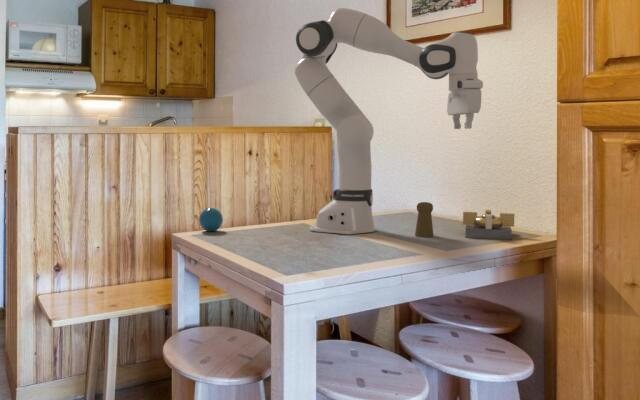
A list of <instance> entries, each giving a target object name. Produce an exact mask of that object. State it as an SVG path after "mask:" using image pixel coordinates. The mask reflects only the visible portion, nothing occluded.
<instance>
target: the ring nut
mask: <svg viewBox="0 0 640 400" xmlns="http://www.w3.org/2000/svg"><path fill="white" fill-rule="evenodd" d="M462 213H463V214H462V225H465V226H466V225H476V226H481V227H485V228H486V229H492V227H501V226H510V227H511V228H512V227H513V228H514V227H515V213H512V212H511V213H508V212H506V213H505V212H500V213H499V216H496V215H494V214H492V210H491V209H485V211H484V213H485V214H482V215H478V212H477V211H462Z"/></svg>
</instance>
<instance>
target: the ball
mask: <svg viewBox="0 0 640 400" xmlns="http://www.w3.org/2000/svg"><path fill="white" fill-rule="evenodd" d="M223 222H224V217H223V214H222V213H221V212H220V210H219V209H217V208H214V207H208V208H205V209H203V210H201V212H200V214H199V217H198V223H199V225H200V227H201V228H202V229H203V230H204V231H206V232H209V233H210V232H211V233H212V232H216V231H218V230H219V229H221V227H222V225H223Z"/></svg>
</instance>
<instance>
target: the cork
mask: <svg viewBox="0 0 640 400" xmlns="http://www.w3.org/2000/svg"><path fill="white" fill-rule="evenodd" d="M416 210H417V212H418V214H417V219H416V225H415V232H414V236H415V237H418V238H426V239H427V238H433V237H434V229H433V227H434V226H433V218H432V212H433V210H434V205H433V204H432V203H431V202H427V201H422V202H418V203H417V204H416Z"/></svg>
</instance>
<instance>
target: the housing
mask: <svg viewBox="0 0 640 400" xmlns="http://www.w3.org/2000/svg"><path fill="white" fill-rule="evenodd" d="M512 232H513V231H512V226H501V227H492V229H486V228H485V227H481V226H476V225H466V224H465V236H464V237H465V238H466V239H467V238H468V239H488V240H503V241H505V240H506V241H507V240H508V241H512V235H513V234H512Z"/></svg>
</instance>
